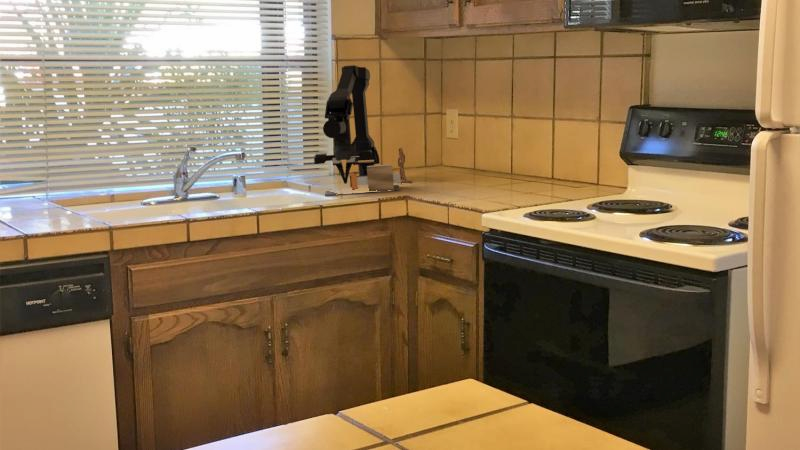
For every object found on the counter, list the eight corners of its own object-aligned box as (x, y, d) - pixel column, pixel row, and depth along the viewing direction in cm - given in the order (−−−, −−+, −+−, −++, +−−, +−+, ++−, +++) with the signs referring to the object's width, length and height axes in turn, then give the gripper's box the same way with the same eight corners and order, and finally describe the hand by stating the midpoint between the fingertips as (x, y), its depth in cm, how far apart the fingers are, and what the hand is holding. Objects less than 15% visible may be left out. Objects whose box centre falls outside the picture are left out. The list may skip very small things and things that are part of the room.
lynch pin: (350, 187, 297) (349, 172, 296) (400, 184, 297) (399, 169, 297) (350, 189, 292) (349, 174, 291) (401, 186, 293) (399, 170, 292)
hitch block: (368, 187, 300) (366, 166, 298) (392, 185, 300) (391, 164, 299) (368, 191, 290) (367, 169, 289) (393, 189, 290) (392, 167, 289)
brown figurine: (394, 181, 315) (391, 147, 313) (404, 180, 316) (402, 146, 314) (400, 184, 306) (398, 148, 304) (411, 183, 307) (409, 147, 305)
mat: (326, 191, 300) (325, 190, 300) (398, 186, 301) (398, 184, 300) (325, 196, 289) (324, 194, 289) (400, 190, 290) (400, 188, 290)
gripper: (311, 139, 283) (315, 188, 286) (371, 135, 284) (374, 184, 286) (313, 136, 294) (317, 184, 297) (370, 132, 295) (374, 180, 297)
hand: (345, 183), depth 294 cm, fingers closed
